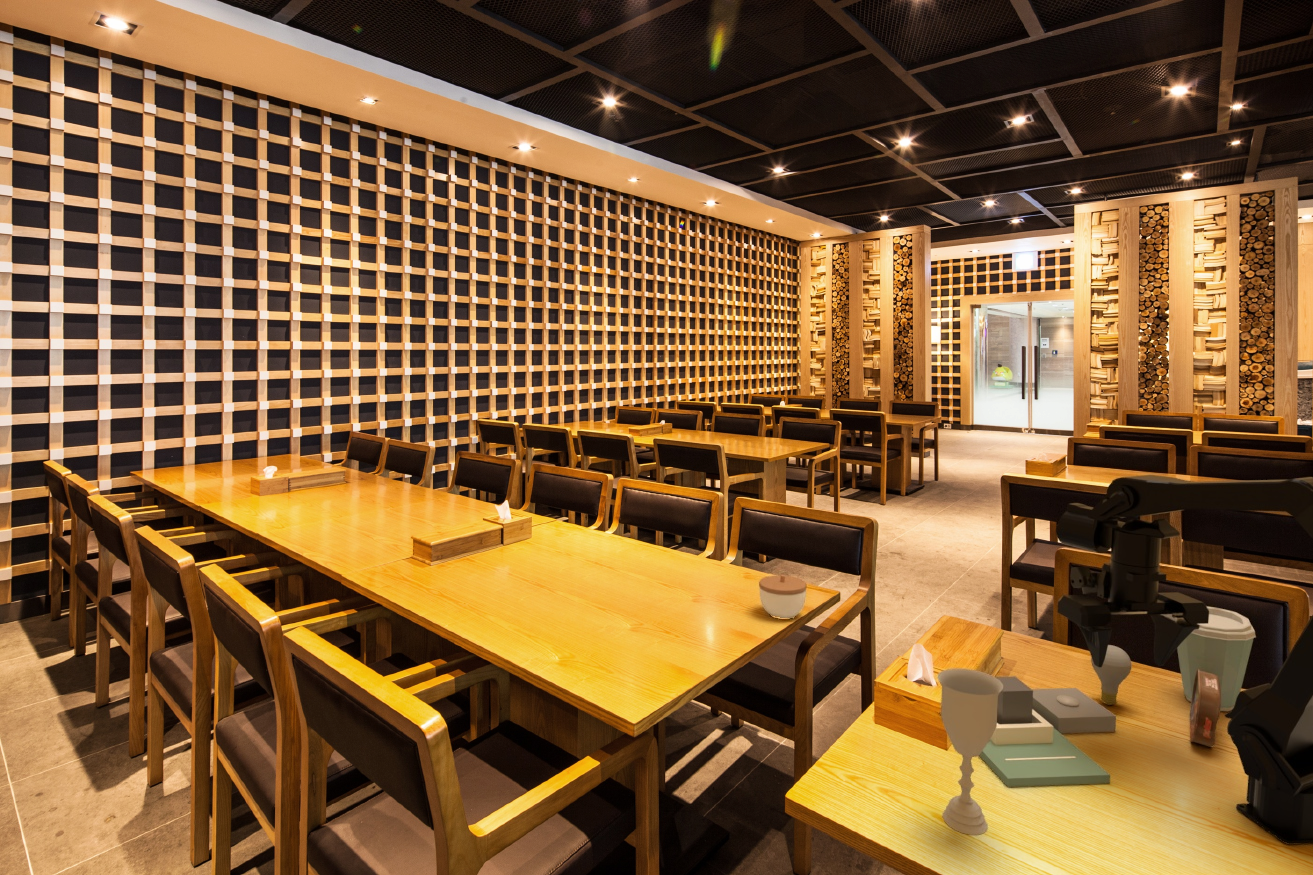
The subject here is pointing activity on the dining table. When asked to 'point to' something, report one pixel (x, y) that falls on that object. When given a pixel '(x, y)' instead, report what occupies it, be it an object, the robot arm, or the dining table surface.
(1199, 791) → the dining table surface
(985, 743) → the chalice
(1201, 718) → the tin
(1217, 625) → the disposable coffee cup
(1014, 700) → the plug
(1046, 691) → the grey domed button plate
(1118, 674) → the light bulb
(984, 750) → the board
